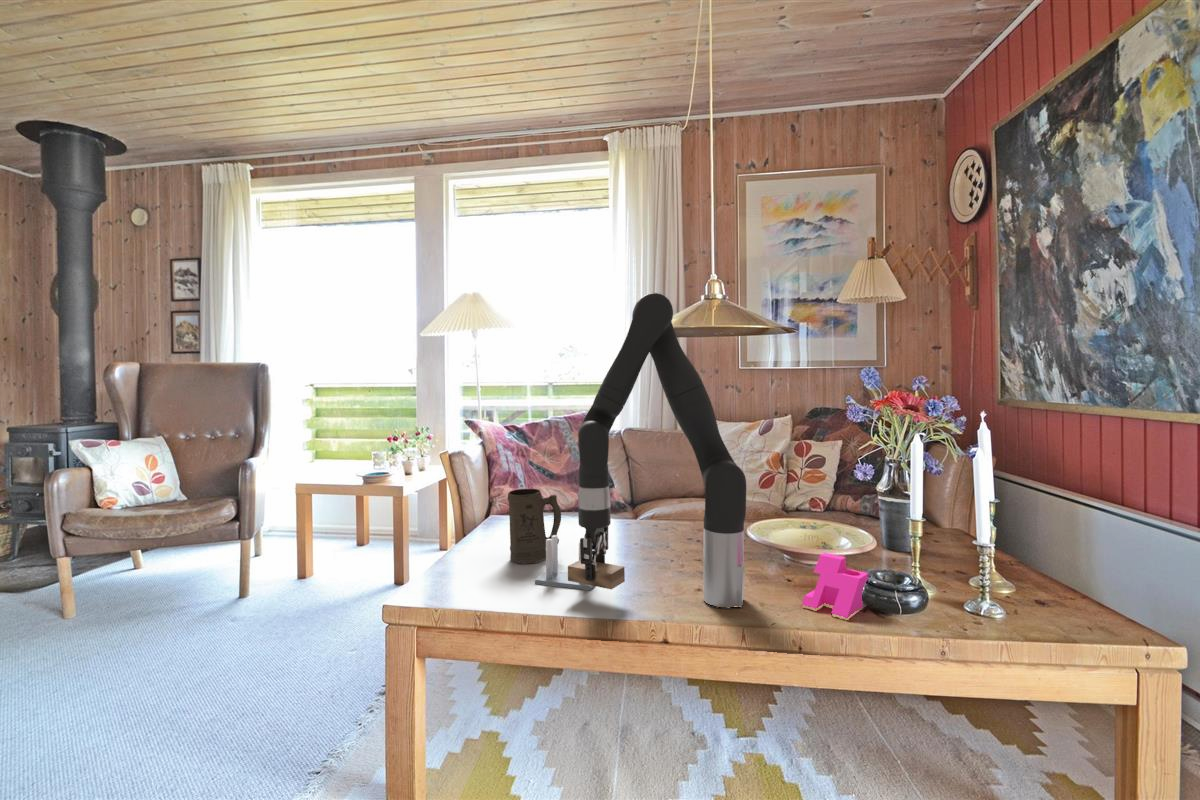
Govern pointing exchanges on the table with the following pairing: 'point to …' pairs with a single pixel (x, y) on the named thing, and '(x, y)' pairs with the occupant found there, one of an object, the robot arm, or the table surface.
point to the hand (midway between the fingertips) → (595, 575)
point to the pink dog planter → (837, 586)
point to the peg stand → (552, 573)
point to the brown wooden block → (598, 574)
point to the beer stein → (530, 524)
